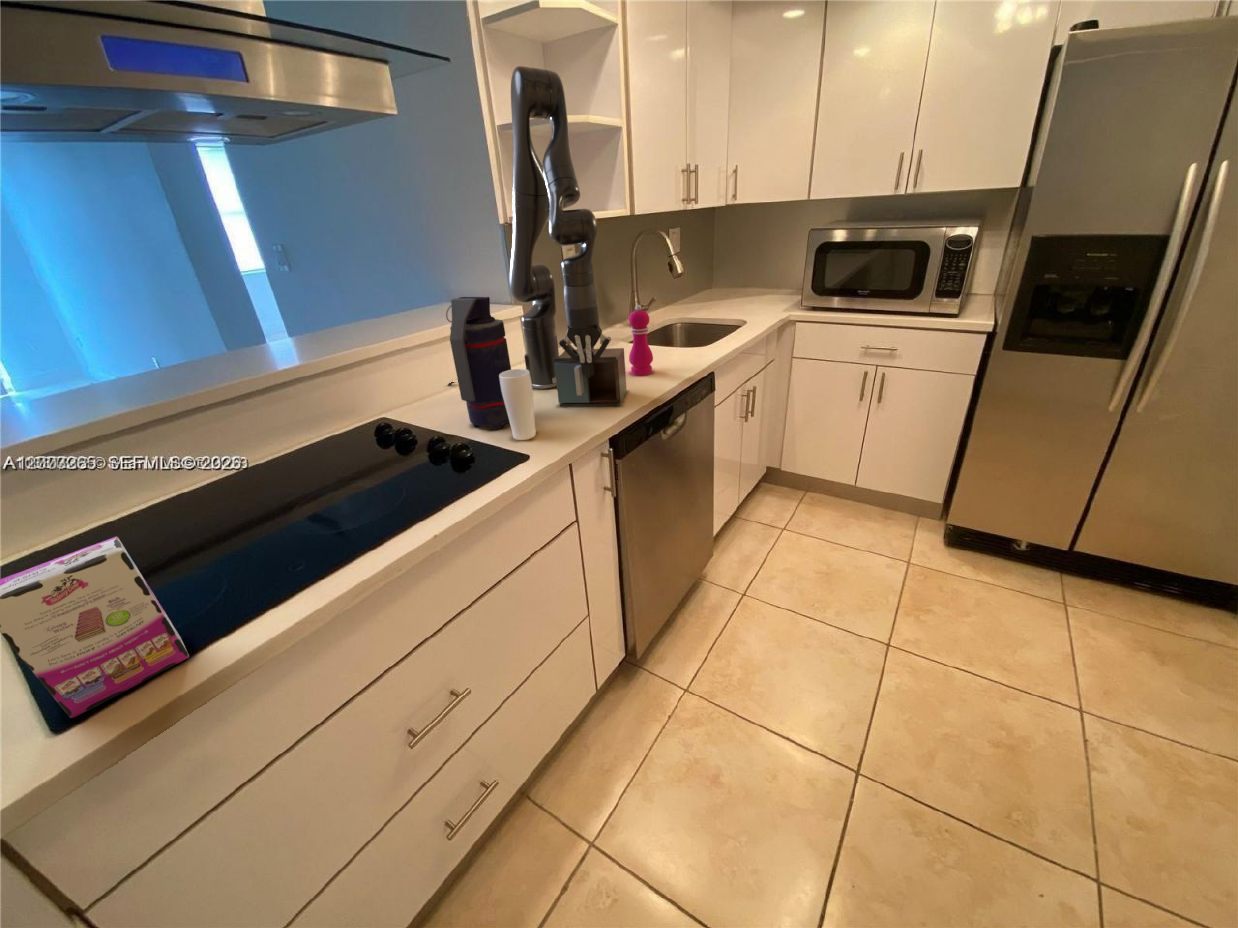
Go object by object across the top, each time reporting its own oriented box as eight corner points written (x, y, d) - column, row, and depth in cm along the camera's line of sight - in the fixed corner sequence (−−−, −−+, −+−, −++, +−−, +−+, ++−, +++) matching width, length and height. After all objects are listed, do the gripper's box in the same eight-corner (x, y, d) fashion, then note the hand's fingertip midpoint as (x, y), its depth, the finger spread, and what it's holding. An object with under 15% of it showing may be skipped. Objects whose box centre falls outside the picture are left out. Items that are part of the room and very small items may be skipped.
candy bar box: (182, 639, 67) (119, 533, 60) (191, 658, 64) (126, 548, 57) (65, 697, 60) (-24, 584, 53) (69, 721, 57) (-25, 605, 49)
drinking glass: (513, 431, 123) (502, 369, 116) (541, 429, 123) (532, 367, 116) (506, 443, 117) (495, 378, 110) (536, 441, 116) (526, 376, 110)
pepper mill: (654, 368, 161) (651, 302, 152) (653, 375, 154) (650, 306, 145) (630, 369, 162) (626, 303, 153) (628, 376, 155) (624, 308, 146)
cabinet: (559, 406, 136) (553, 358, 130) (570, 391, 146) (565, 346, 141) (619, 406, 133) (616, 357, 128) (626, 391, 143) (623, 345, 138)
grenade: (491, 411, 137) (468, 292, 123) (528, 415, 132) (509, 292, 118) (455, 431, 126) (426, 303, 112) (494, 436, 121) (468, 303, 107)
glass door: (555, 406, 133) (550, 367, 128) (559, 402, 136) (554, 363, 132) (586, 406, 132) (582, 366, 127) (589, 401, 135) (585, 362, 130)
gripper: (611, 300, 123) (617, 371, 131) (558, 303, 126) (566, 372, 134) (605, 306, 117) (612, 380, 125) (549, 309, 119) (559, 382, 127)
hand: (588, 376), depth 129 cm, fingers closed
